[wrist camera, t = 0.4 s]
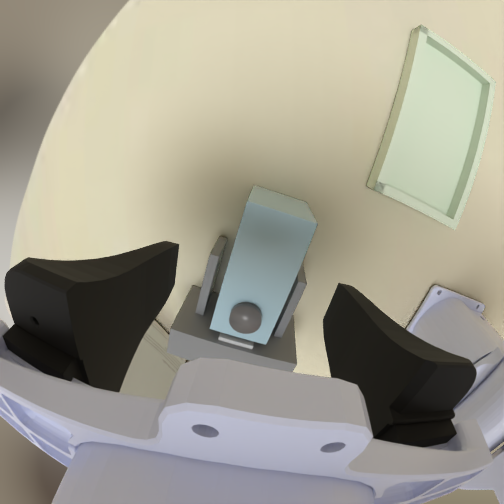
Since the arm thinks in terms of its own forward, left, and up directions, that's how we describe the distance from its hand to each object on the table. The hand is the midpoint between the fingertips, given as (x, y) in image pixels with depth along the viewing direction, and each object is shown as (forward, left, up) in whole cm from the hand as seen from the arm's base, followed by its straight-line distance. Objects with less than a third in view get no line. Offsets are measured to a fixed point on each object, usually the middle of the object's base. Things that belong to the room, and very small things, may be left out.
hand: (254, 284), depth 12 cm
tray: (-11, -12, -9) cm, 19 cm away
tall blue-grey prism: (-1, +2, -10) cm, 10 cm away
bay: (-1, +6, -9) cm, 11 cm away
